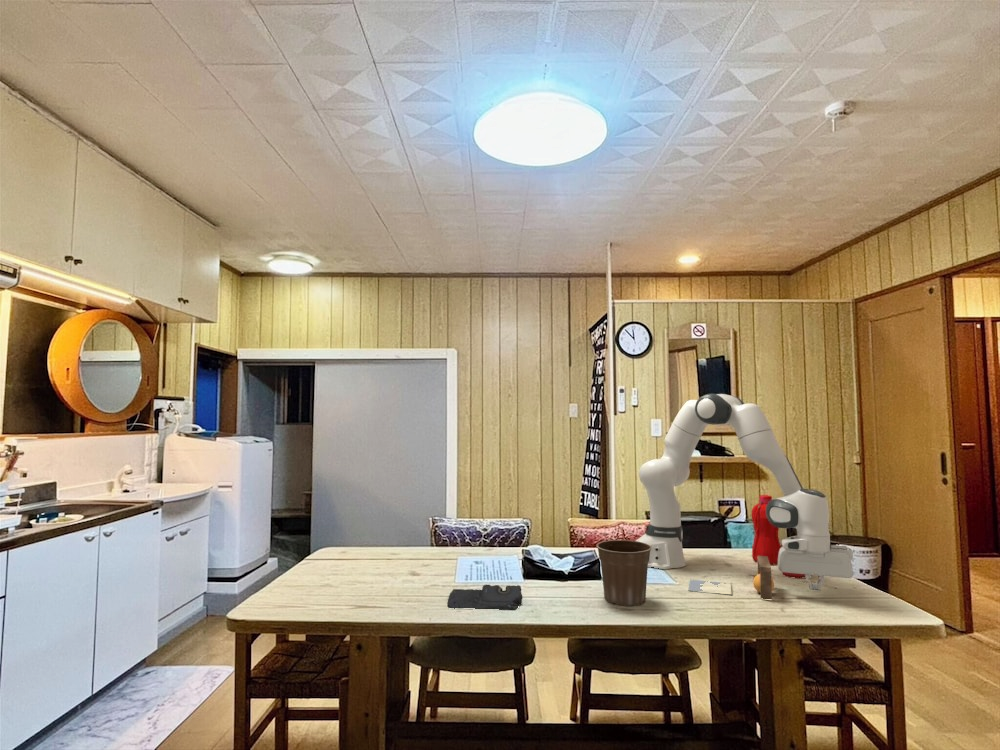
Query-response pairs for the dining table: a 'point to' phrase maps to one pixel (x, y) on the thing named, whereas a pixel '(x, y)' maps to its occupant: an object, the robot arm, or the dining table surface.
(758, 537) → the water bottle
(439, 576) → the dining table surface
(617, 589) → the plant pot
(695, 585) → the flat gray rectangular panel
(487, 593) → the dark slate chunk
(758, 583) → the ball
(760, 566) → the wooden staple shape
